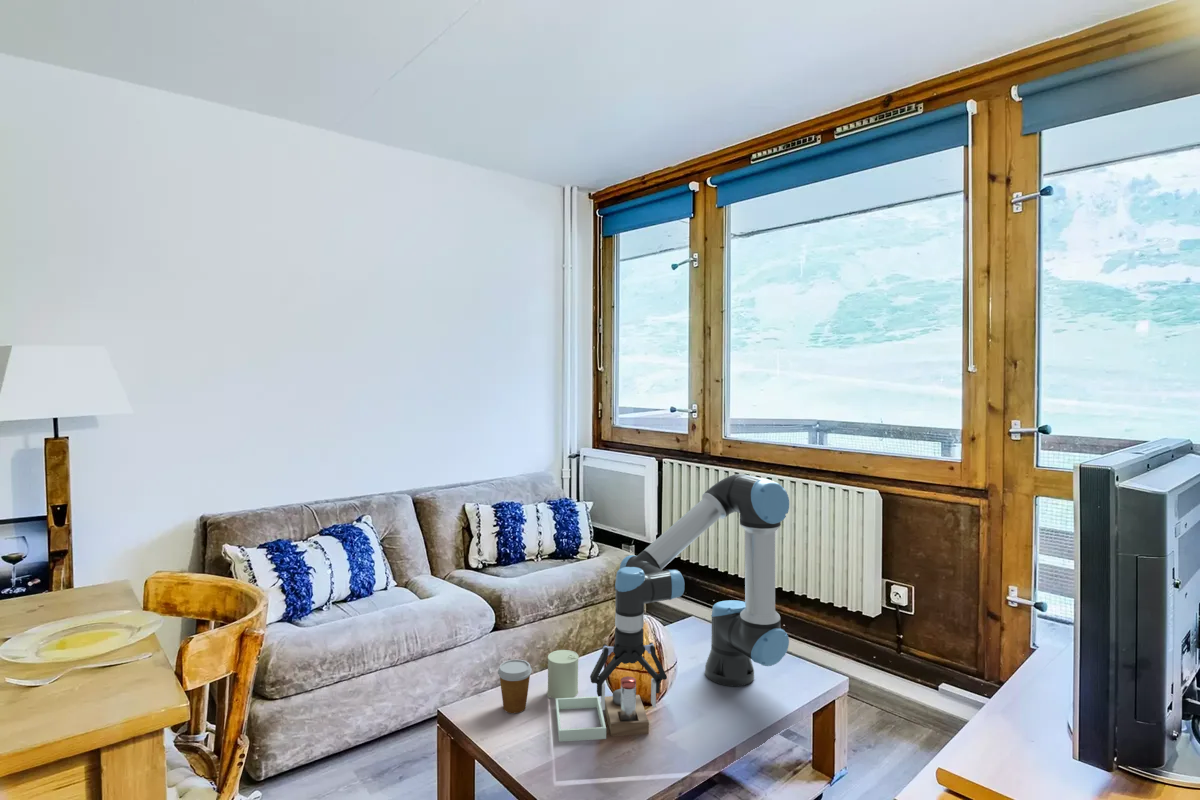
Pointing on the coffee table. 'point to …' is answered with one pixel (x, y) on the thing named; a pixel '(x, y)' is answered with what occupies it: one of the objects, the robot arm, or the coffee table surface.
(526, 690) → the disposable coffee cup
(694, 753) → the coffee table surface
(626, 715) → the red capped bottle
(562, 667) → the can
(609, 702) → the socket block
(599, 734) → the tray
